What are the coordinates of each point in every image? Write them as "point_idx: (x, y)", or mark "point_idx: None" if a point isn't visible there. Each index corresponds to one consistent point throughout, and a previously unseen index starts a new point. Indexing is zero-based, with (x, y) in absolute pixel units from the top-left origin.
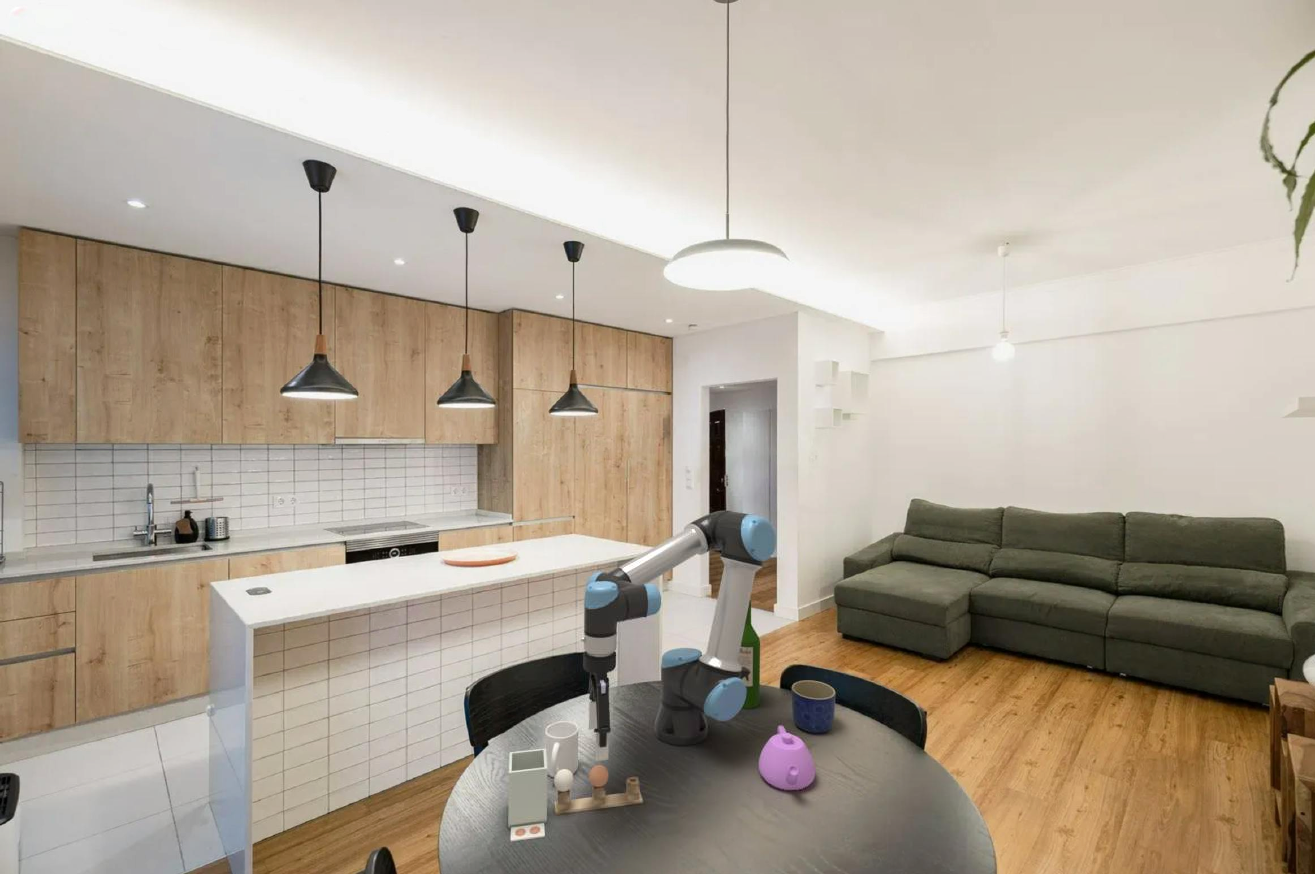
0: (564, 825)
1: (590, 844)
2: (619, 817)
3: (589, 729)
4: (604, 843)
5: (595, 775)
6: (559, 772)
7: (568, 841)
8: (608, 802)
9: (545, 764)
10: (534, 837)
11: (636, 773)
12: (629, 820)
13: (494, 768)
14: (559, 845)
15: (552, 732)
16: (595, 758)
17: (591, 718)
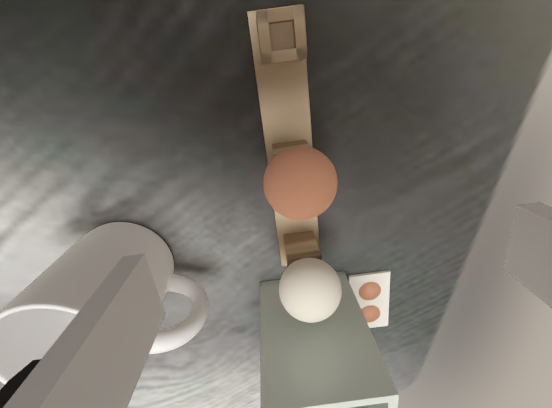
0: (360, 234)
1: (441, 174)
2: (358, 94)
3: (164, 311)
4: (449, 139)
5: (331, 202)
6: (316, 320)
7: (416, 222)
8: (300, 129)
9: (371, 401)
10: (389, 288)
11: (123, 15)
12: (378, 62)
13: (141, 385)
14: (423, 239)
15: None
16: (506, 271)
17: (132, 366)
